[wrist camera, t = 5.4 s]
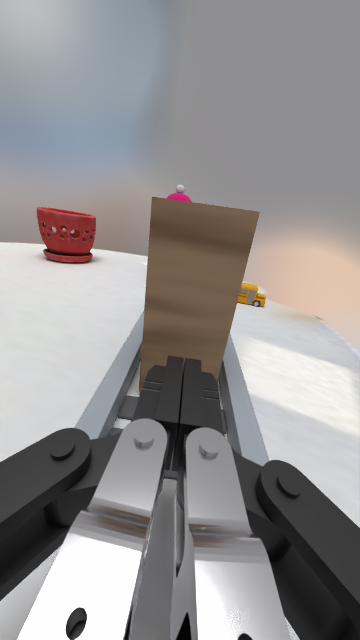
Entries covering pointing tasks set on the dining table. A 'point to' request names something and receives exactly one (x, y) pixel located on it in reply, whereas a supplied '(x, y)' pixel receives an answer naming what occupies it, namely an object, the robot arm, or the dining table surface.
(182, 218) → the walnut block
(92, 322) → the dining table surface
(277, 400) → the dining table surface
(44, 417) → the dining table surface
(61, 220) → the plant pot
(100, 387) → the trap channel
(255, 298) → the toy bus
